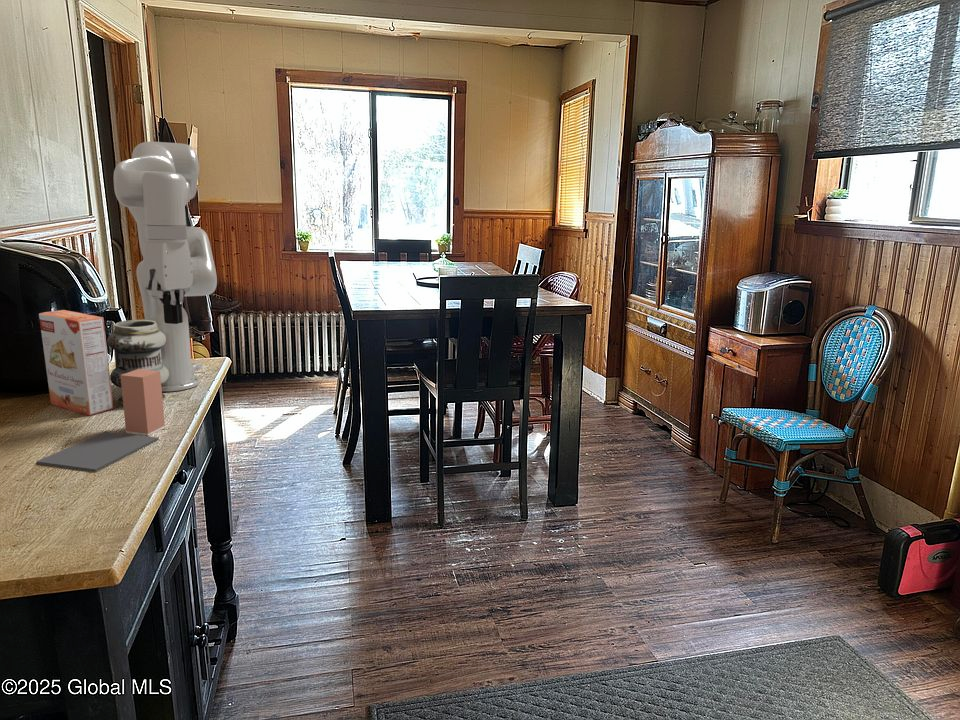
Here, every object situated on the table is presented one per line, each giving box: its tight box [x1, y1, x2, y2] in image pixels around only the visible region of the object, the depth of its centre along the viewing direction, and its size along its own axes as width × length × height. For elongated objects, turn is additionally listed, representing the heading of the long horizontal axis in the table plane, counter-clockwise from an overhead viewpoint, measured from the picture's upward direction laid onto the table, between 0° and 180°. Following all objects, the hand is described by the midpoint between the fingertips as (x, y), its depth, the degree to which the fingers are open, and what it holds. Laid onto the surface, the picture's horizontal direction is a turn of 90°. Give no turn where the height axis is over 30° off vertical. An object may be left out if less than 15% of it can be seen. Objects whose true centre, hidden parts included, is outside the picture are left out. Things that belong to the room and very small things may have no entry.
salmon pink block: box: [120, 369, 166, 436], centre depth 132 cm, size 5×5×12 cm
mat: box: [36, 430, 159, 473], centre depth 122 cm, size 16×12×1 cm
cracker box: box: [38, 309, 114, 417], centre depth 143 cm, size 14×6×21 cm, turn 62°
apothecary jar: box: [106, 319, 169, 405], centre depth 150 cm, size 12×12×18 cm
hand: (173, 322), depth 138 cm, fingers closed
